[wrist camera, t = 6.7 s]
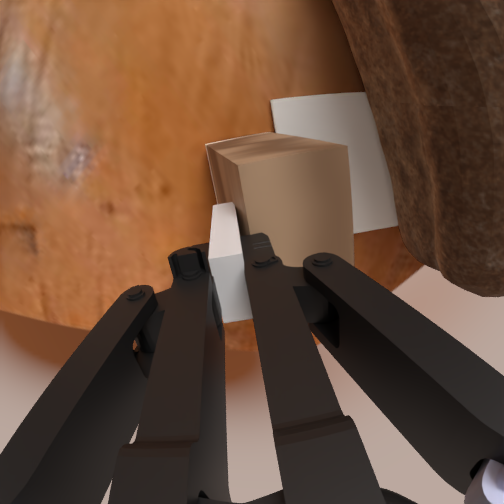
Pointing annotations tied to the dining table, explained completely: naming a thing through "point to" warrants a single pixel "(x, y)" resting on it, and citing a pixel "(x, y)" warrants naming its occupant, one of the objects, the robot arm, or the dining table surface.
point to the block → (287, 192)
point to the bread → (439, 126)
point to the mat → (359, 148)
